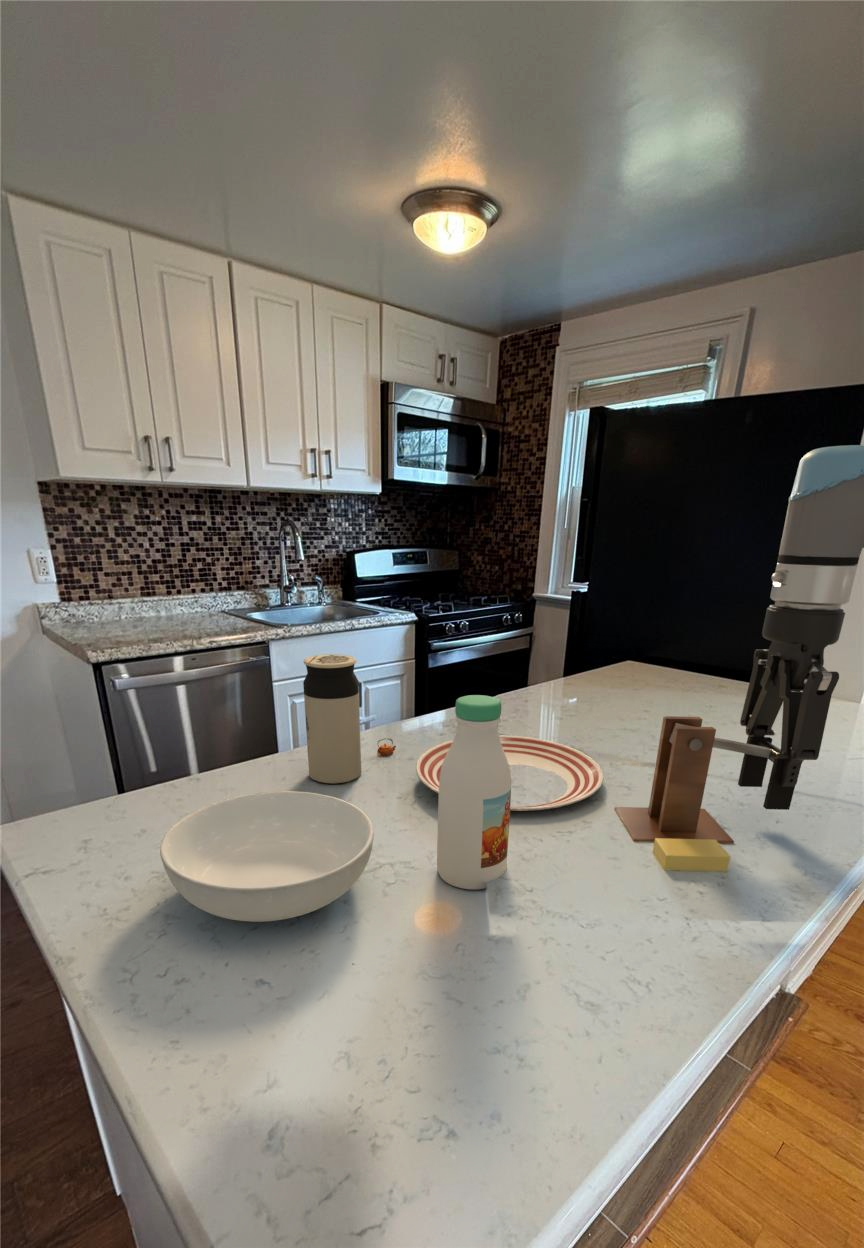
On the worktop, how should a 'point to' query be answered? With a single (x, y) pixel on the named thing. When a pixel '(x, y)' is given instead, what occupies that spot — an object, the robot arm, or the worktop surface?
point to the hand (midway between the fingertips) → (762, 796)
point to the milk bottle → (474, 798)
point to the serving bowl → (268, 854)
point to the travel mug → (332, 718)
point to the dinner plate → (533, 752)
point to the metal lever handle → (742, 746)
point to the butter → (691, 854)
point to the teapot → (385, 749)
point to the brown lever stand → (677, 788)
